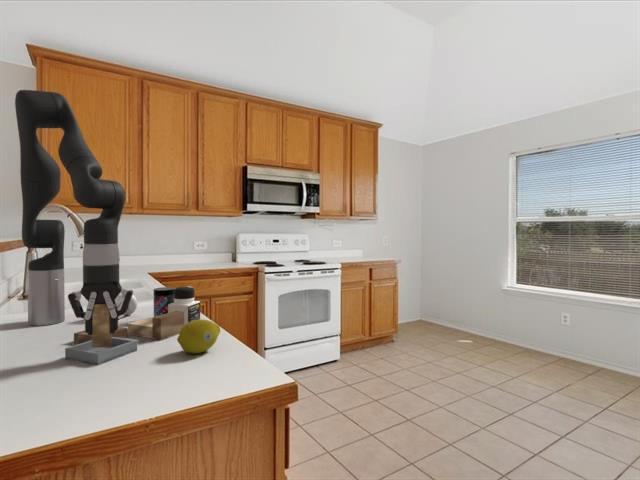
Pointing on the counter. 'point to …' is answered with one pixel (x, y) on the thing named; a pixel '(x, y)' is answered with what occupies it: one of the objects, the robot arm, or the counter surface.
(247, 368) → the counter surface
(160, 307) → the supplement container
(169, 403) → the counter surface
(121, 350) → the tray
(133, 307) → the white knot sculpture
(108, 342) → the dowel
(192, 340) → the lemon
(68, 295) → the robot arm
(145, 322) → the light wooden block
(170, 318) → the block
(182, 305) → the medicine bottle
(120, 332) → the socket block
